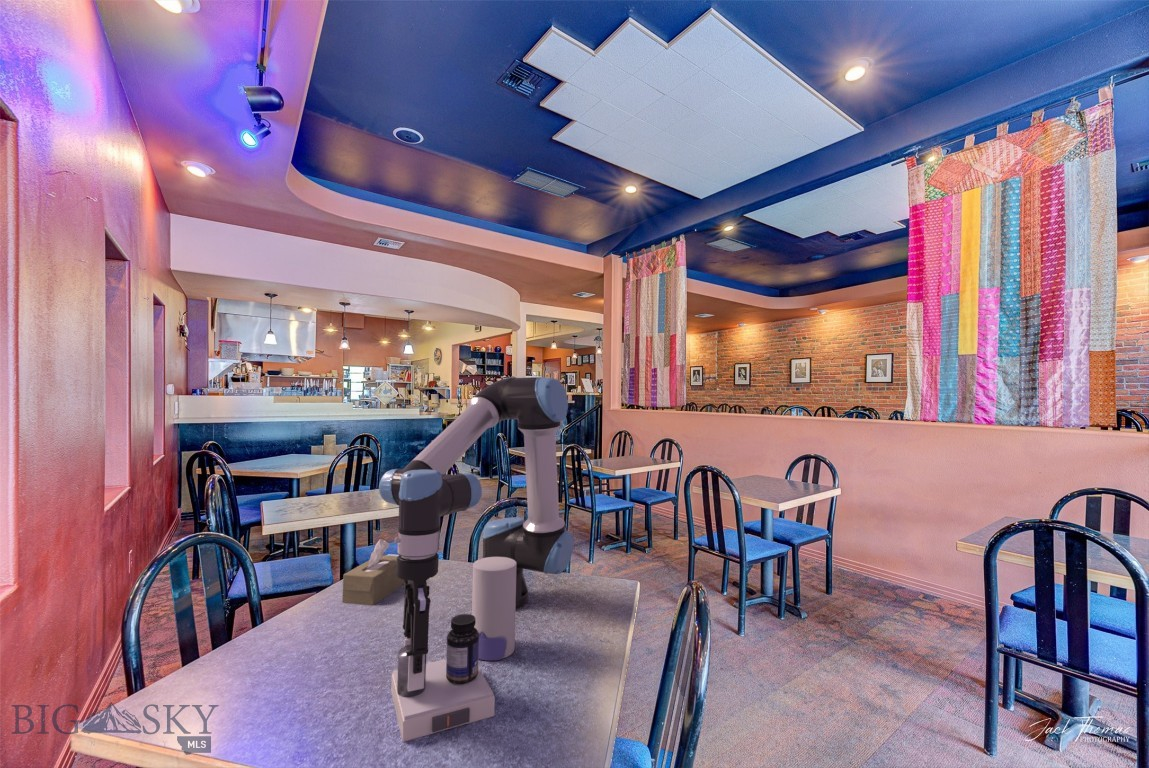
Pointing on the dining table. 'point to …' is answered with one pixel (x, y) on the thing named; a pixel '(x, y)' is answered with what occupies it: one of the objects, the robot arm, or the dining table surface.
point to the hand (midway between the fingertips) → (413, 680)
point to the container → (494, 606)
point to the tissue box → (372, 578)
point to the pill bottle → (462, 650)
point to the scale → (441, 703)
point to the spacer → (406, 674)
